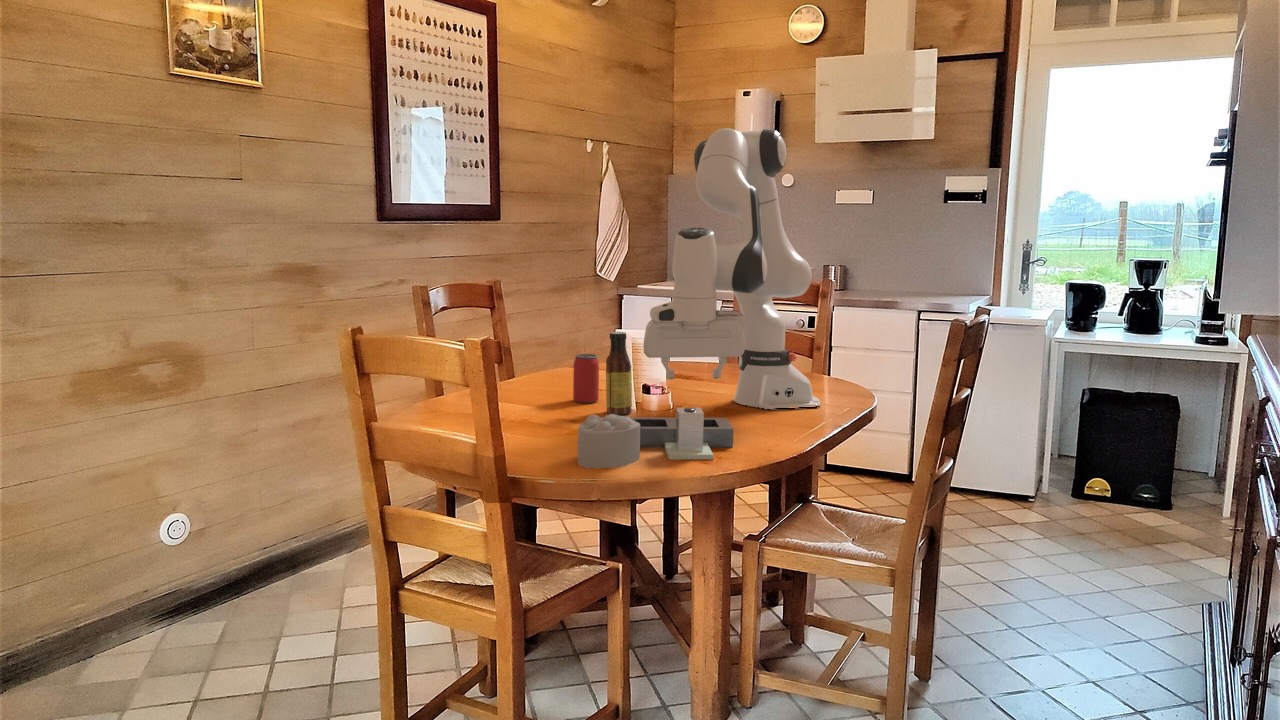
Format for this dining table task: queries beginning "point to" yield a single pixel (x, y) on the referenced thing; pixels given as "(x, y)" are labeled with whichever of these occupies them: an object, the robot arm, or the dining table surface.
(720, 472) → the dining table surface
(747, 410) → the dining table surface
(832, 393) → the dining table surface
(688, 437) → the grey square post
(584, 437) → the lumpy-topped squat cylinder
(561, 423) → the dining table surface
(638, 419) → the rail
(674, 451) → the pad
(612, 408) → the sauce bottle
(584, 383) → the beer can
